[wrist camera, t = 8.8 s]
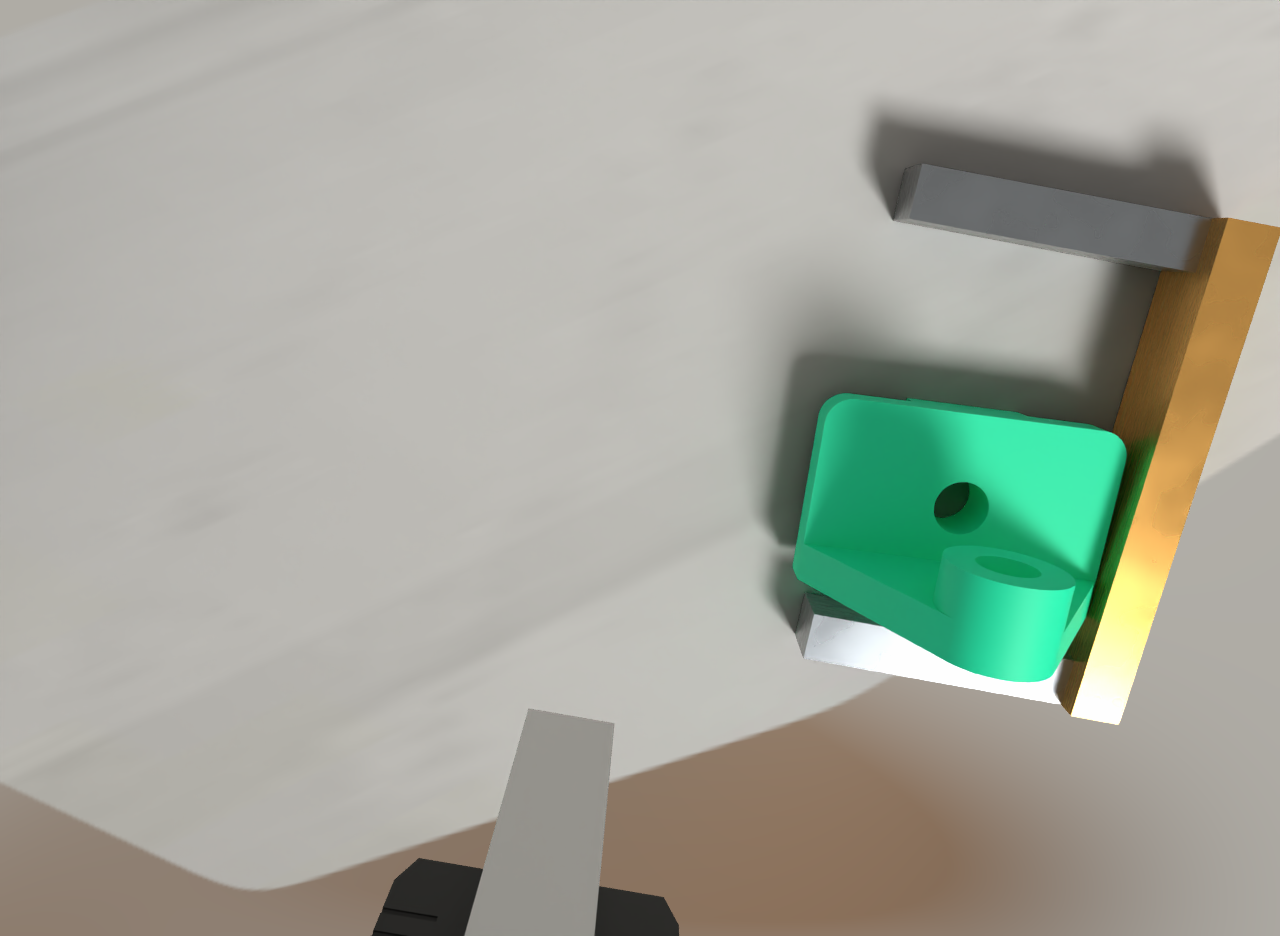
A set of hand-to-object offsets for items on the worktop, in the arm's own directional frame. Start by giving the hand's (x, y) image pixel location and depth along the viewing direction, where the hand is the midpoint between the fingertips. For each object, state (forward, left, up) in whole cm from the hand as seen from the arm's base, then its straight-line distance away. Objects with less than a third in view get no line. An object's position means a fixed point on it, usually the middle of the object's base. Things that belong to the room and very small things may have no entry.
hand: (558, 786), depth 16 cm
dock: (+15, +4, -24) cm, 29 cm away
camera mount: (+14, +1, -25) cm, 28 cm away
